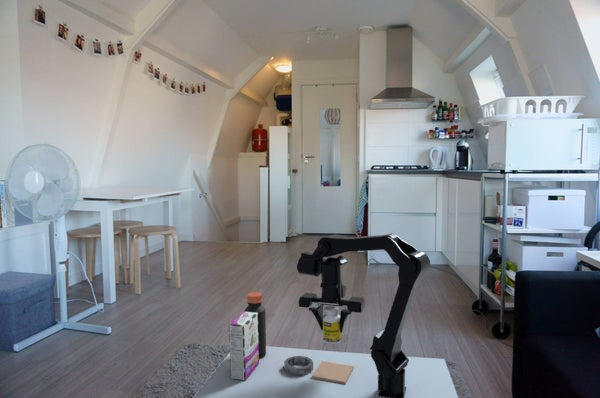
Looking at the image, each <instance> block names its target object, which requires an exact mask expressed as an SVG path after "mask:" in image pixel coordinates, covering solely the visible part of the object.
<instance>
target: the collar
mask: <svg viewBox="0 0 600 398" xmlns="http://www.w3.org/2000/svg"><path fill="white" fill-rule="evenodd" d="M283 361H284V363H283V365H284V366H283V367H284V372H285V373H286V374H288V375H289V376H295V377H300V376H306V375H308V374H311V373H312V372H313V370H314V362H313V359H312V358H310V357H309V356H304V355H293V356H290V357H288V358H286V359H285V360H283ZM298 364H301V365H304V366H301V367H300V366H299V367H297V366H292V365H298Z"/></svg>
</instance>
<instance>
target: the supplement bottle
mask: <svg viewBox="0 0 600 398" xmlns="http://www.w3.org/2000/svg"><path fill="white" fill-rule="evenodd" d="M339 312H340V311H339V307H338V306H332V305H329V306H326V307H325V308H324V314H323V331H322V340H323V342H324V343H325V344H327V345H338V344H340V343H341V342H342V333H341V332H340V314H339Z"/></svg>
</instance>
